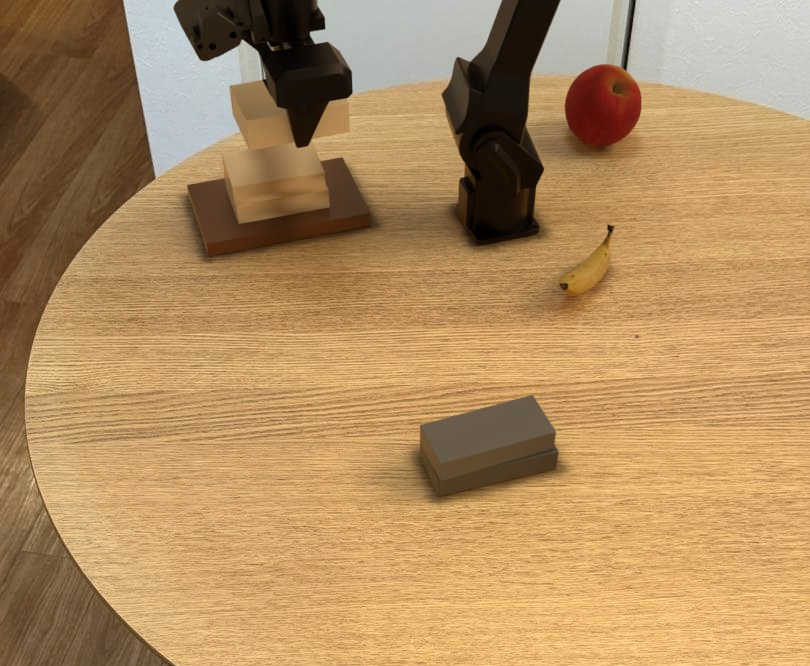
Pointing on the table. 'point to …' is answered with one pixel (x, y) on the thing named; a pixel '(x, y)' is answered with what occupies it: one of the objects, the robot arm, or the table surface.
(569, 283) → the banana
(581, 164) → the table surface
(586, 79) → the apple
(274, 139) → the cream book
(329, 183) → the shelf board
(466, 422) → the grey books
